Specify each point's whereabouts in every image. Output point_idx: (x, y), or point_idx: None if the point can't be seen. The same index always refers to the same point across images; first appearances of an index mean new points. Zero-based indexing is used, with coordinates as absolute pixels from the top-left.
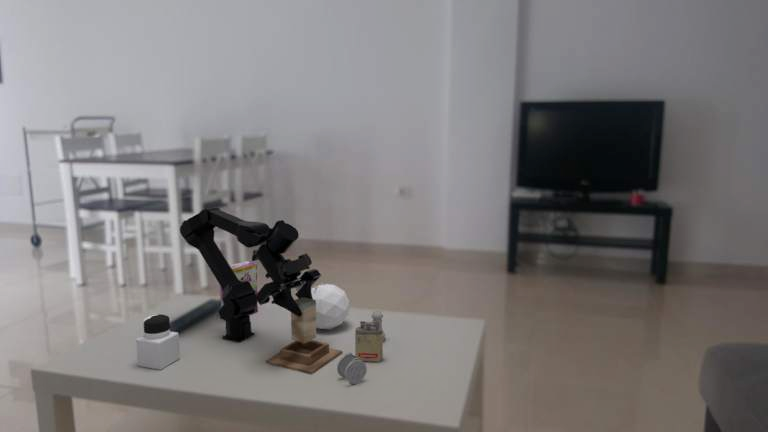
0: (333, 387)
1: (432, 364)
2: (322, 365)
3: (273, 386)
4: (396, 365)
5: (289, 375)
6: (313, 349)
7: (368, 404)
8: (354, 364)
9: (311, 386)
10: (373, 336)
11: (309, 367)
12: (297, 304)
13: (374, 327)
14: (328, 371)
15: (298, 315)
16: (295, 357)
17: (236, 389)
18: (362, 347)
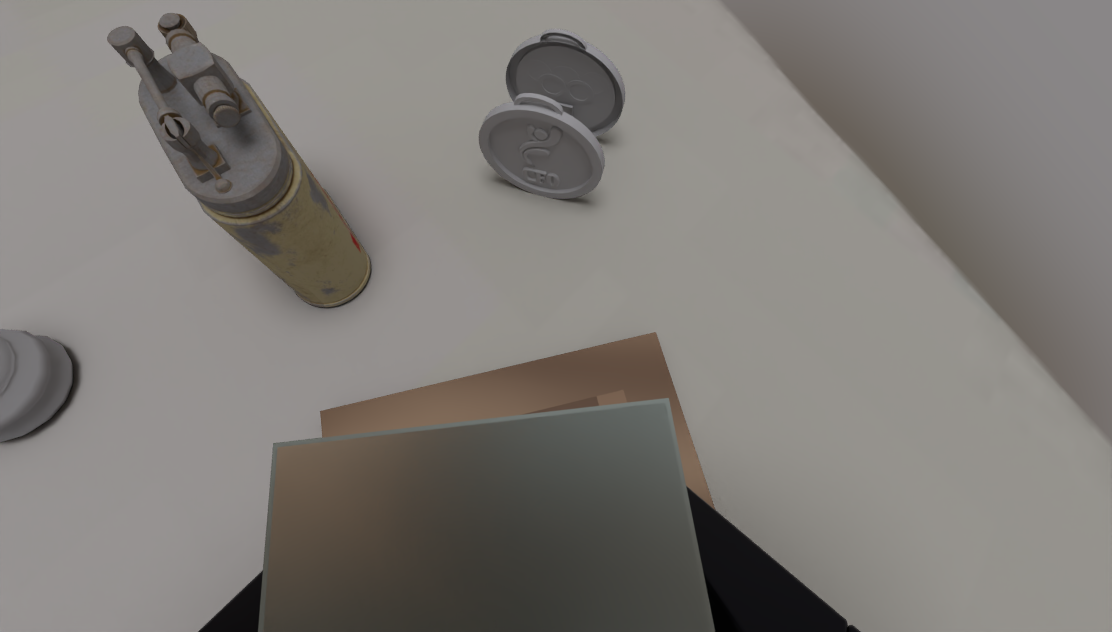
0: (662, 170)
1: (210, 23)
2: (549, 358)
3: (886, 381)
4: (304, 114)
5: (751, 420)
6: None
7: (654, 8)
8: (574, 57)
9: (732, 244)
10: (257, 99)
11: (628, 384)
12: (702, 594)
13: (153, 110)
14: (565, 298)
15: None
16: None
17: (1080, 511)
18: (328, 201)
